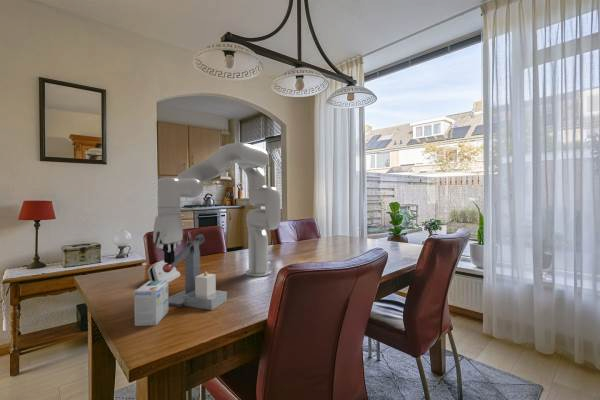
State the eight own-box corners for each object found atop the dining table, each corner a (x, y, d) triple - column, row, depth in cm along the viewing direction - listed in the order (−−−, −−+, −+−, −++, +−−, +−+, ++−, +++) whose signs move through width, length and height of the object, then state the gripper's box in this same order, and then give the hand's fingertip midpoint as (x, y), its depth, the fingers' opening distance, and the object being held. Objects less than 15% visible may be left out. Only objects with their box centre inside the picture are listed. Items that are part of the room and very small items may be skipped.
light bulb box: (148, 312, 100) (148, 280, 100) (169, 311, 101) (169, 279, 101) (133, 326, 90) (133, 290, 89) (157, 325, 90) (156, 290, 90)
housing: (204, 290, 111) (204, 269, 111) (215, 291, 110) (215, 271, 110) (195, 294, 107) (195, 273, 107) (207, 296, 105) (207, 274, 105)
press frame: (192, 289, 124) (191, 240, 123) (236, 295, 117) (236, 243, 116) (159, 303, 108) (159, 248, 107) (208, 311, 101) (208, 252, 100)
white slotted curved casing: (161, 286, 128) (154, 264, 128) (152, 289, 128) (144, 267, 128) (181, 275, 144) (174, 255, 145) (172, 278, 145) (165, 258, 145)
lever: (199, 240, 127) (197, 233, 125) (206, 240, 126) (204, 234, 124) (162, 274, 107) (159, 266, 106) (169, 274, 106) (166, 267, 105)
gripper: (176, 210, 117) (176, 257, 117) (143, 212, 102) (144, 266, 103) (191, 211, 114) (191, 259, 114) (161, 213, 100) (161, 268, 100)
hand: (169, 262), depth 109 cm, fingers closed
